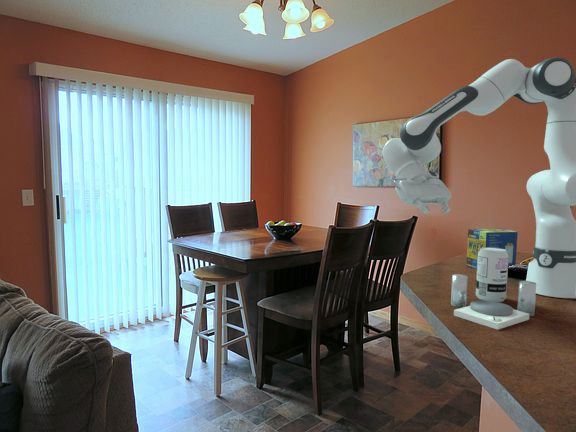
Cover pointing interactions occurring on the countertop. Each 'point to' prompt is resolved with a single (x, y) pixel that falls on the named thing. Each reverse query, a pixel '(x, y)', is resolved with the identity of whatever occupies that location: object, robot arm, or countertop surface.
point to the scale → (491, 314)
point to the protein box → (491, 243)
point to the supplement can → (492, 274)
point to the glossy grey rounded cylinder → (459, 290)
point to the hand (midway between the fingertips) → (437, 212)
